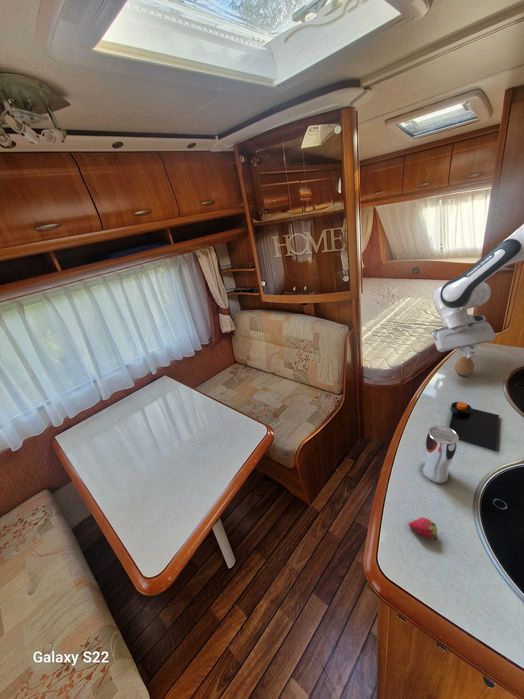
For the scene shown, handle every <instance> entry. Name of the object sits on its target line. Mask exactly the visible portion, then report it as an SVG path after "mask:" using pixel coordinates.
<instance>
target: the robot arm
mask: <svg viewBox="0 0 524 699" xmlns="http://www.w3.org/2000/svg"><path fill="white" fill-rule="evenodd" d="M519 262H524V223H522V225H520V226H519V228H517V229H516V230H515V231H514V232H513V233H511V235H509V236H508V237H506V239H504V240H503V241H502V242H500V243H499V244H497V245H496V246H495V247H493V248H492V249H491V250H489V251H488V252H487V253H486V254H485V255H483V256H482V257H481V258H480V259H479V260H477V261H476V262H475V263H474V264H472V265H471V266H470V267H469V268H468V269H467V270H465V271H464V272H463V273H461V274H460V275H459V276H456V277H454V278H452V279H450V280H448V281H447V282H445V283H444V284H442V285H440V286H439V287H437V288H436V289H434V291H433V292H432V301H433V305H434V308H435V310H436V312H437V314H438V315H439V316H440V321H441V324H442V327H438V328H434V330H433V331H432V332H431V335H432V338H433V339H434V343H435V344H434V345H435V347H436V350H437V351H438V352H439V353H443V352H448V351H452V350H453V351H454V350H457V349H459V351H460V352H461V353H462V354H464V356H465V357H467V358H471V359H473V358H476V357H478V353H477V349H478V345H479V344H480V345H481V344H485V343H489V342H491V341H494V340H496V332H495V331H494V329H493V327H492V326H491V324H490V323H489V322H488V321H487V318H486V316H485V315H482V314H471V313H468V310H469V309H472V308H476V307H481V306H482V305H484V304H486V303H487V302H488V301H489V300H490V298H491V297H492V288H491V286H490V285H489V284H488V283H487V282H485V281H486V280H488V279H490V278H491V277H492V276H493V275H494V274H496V273H497V272H498V271H500V270H502V269H504V268H505V267H507V266H510V265H513V264H515V263H519ZM467 347H469V349H471V351H469V350H468V348H467Z"/></svg>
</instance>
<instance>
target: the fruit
mask: <svg viewBox="0 0 524 699" xmlns="http://www.w3.org/2000/svg"><path fill="white" fill-rule="evenodd" d="M408 526H409V527H410V528H411V529H413V531H415V532H416V533H417V535H419V536H421V537H423V538H425V539H433V540H434V541H435V542H436V541H438V528H437V523H436V522H433V521H432V520H430V519H429V518H427V517H419V518H417V519H414V520H412V521H409V522H408Z"/></svg>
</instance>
